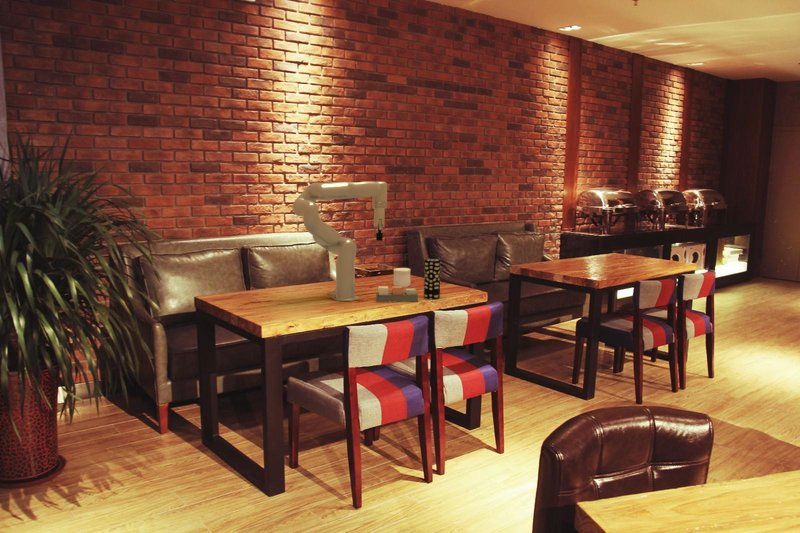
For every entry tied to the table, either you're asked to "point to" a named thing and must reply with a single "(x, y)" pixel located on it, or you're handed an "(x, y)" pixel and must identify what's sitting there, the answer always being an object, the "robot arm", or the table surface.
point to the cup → (401, 277)
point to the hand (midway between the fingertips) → (379, 240)
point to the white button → (382, 290)
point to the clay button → (396, 290)
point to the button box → (396, 297)
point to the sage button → (410, 291)
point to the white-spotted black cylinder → (432, 278)
